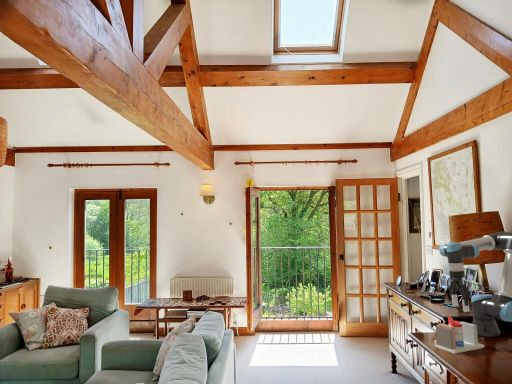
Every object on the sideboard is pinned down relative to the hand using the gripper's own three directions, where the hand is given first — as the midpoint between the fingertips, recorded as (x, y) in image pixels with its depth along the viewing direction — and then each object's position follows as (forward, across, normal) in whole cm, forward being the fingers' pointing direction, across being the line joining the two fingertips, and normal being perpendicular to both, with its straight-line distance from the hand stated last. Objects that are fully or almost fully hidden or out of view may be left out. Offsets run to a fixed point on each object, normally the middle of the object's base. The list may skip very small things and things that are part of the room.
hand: (460, 308), depth 206 cm
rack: (+20, +2, -4) cm, 20 cm away
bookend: (+19, -2, +3) cm, 19 cm away
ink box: (+18, +2, -5) cm, 19 cm away
